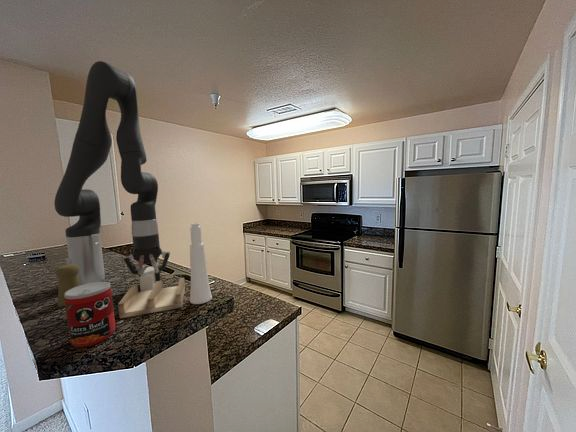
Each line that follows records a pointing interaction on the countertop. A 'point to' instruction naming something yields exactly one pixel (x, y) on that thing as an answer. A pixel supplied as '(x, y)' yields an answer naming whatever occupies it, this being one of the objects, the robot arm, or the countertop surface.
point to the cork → (66, 280)
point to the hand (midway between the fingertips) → (150, 283)
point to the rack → (151, 299)
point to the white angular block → (147, 279)
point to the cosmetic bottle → (198, 268)
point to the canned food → (90, 313)
